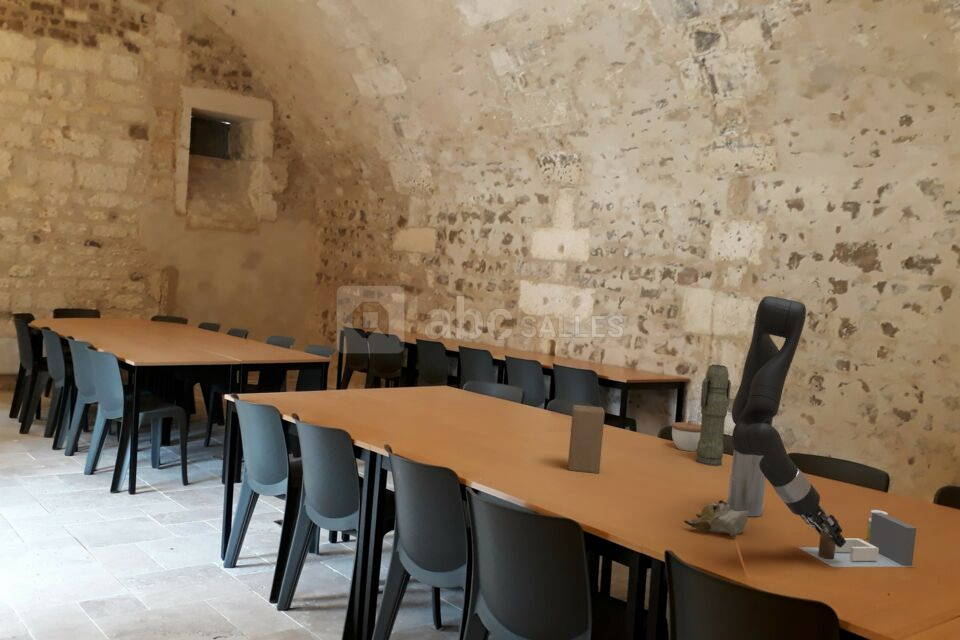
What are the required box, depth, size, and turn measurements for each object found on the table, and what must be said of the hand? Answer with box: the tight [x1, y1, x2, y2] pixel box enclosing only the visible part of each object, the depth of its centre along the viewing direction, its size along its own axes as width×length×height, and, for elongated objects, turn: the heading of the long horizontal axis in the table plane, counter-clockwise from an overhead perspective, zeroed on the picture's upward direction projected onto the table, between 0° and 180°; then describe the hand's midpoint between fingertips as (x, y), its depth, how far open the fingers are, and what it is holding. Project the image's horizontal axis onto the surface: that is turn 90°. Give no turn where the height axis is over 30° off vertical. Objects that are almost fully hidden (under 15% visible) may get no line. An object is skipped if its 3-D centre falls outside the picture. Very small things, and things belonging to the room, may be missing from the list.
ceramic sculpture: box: [683, 499, 749, 538], centre depth 215 cm, size 11×9×15 cm
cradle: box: [835, 537, 879, 561], centre depth 200 cm, size 7×7×3 cm
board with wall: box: [798, 512, 917, 568], centre depth 200 cm, size 22×13×10 cm, turn 103°
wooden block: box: [567, 404, 606, 474], centre depth 274 cm, size 10×10×20 cm
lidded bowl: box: [671, 419, 701, 452], centre depth 321 cm, size 13×13×11 cm
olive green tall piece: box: [696, 364, 732, 467], centre depth 299 cm, size 9×12×35 cm
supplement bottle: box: [866, 509, 889, 541], centre depth 216 cm, size 5×5×8 cm
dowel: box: [818, 518, 839, 559], centre depth 198 cm, size 4×4×9 cm
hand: (834, 540), depth 199 cm, fingers open, 5 cm apart
